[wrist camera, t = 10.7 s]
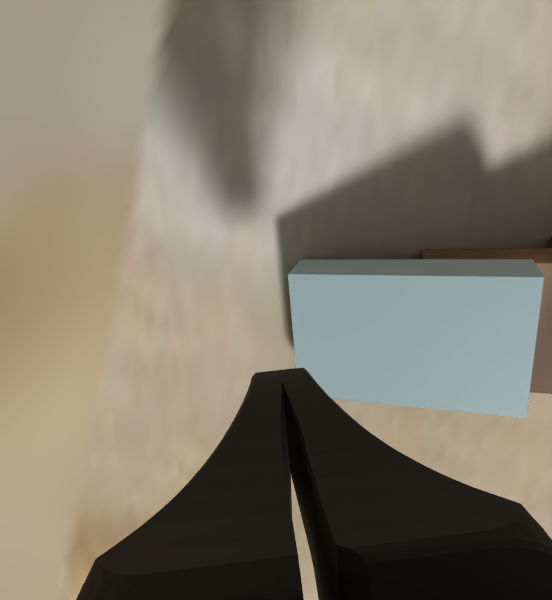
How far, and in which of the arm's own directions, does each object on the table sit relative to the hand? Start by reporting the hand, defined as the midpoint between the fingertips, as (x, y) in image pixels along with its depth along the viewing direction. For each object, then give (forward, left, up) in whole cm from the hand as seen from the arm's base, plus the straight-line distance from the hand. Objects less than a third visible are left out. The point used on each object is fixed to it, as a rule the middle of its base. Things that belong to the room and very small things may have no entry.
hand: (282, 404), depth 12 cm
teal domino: (-1, 0, -4) cm, 4 cm away
